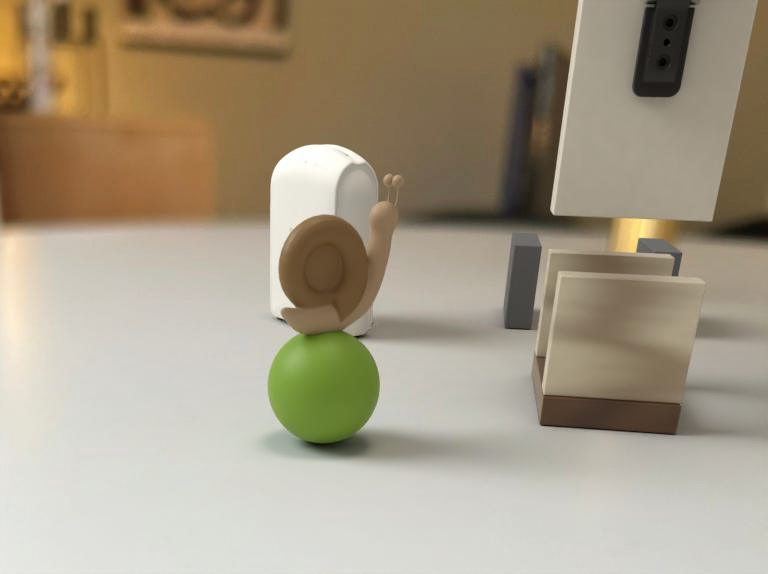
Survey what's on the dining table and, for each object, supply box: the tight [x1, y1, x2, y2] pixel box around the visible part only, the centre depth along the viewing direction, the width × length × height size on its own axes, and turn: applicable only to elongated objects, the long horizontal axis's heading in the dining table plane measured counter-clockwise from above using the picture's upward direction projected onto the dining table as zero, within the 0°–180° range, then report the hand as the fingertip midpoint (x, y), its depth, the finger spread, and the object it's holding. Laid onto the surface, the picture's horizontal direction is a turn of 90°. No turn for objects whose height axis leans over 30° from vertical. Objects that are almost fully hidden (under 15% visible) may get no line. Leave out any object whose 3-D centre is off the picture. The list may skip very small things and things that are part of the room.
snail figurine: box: [267, 173, 404, 444], centre depth 47 cm, size 5×6×12 cm
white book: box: [549, 0, 759, 223], centre depth 51 cm, size 3×8×10 cm, turn 80°
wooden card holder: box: [531, 248, 707, 435], centre depth 56 cm, size 7×12×8 cm, turn 170°
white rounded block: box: [269, 143, 379, 337], centre depth 73 cm, size 10×4×12 cm, turn 29°
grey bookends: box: [502, 231, 683, 330], centre depth 78 cm, size 12×9×6 cm
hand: (649, 95), depth 50 cm, fingers closed on white book, 3 cm apart
